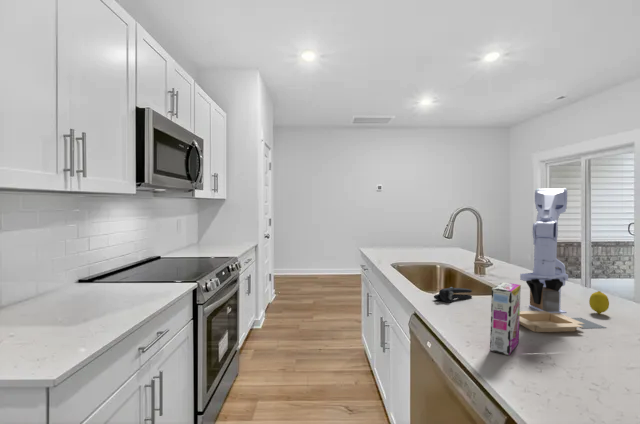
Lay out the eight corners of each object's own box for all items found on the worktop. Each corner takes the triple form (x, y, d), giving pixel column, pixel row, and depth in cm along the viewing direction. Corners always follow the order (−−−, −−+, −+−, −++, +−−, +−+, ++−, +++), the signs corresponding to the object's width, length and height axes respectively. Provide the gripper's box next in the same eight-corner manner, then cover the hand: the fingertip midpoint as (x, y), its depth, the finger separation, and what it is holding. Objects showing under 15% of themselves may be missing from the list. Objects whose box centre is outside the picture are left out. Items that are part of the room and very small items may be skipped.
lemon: (600, 316, 126) (601, 293, 126) (585, 312, 131) (585, 289, 131) (612, 315, 127) (613, 292, 127) (597, 311, 133) (597, 288, 133)
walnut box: (529, 304, 119) (530, 286, 119) (540, 304, 119) (541, 285, 119) (547, 311, 111) (547, 292, 111) (559, 311, 111) (559, 291, 111)
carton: (501, 319, 123) (501, 311, 122) (552, 318, 124) (552, 310, 124) (532, 336, 107) (533, 327, 107) (591, 334, 108) (591, 326, 108)
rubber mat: (558, 319, 123) (558, 318, 123) (580, 318, 123) (580, 317, 123) (582, 329, 113) (582, 328, 113) (606, 328, 113) (606, 327, 113)
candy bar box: (510, 356, 92) (511, 291, 92) (489, 351, 95) (490, 288, 95) (520, 343, 101) (521, 284, 100) (500, 339, 104) (501, 281, 104)
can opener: (444, 304, 141) (444, 290, 140) (431, 300, 147) (432, 286, 147) (478, 300, 148) (478, 286, 148) (465, 296, 154) (465, 282, 154)
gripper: (530, 262, 110) (530, 307, 111) (576, 261, 112) (575, 306, 112) (516, 258, 117) (515, 301, 118) (559, 258, 119) (558, 300, 119)
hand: (543, 303), depth 115 cm, fingers closed on walnut box, 4 cm apart
